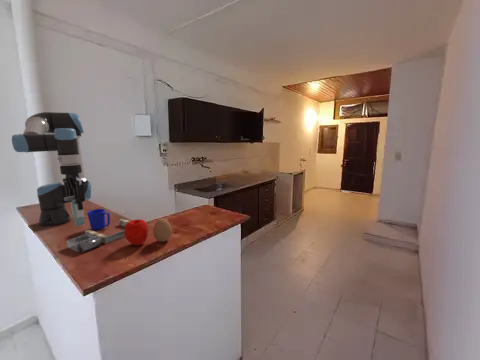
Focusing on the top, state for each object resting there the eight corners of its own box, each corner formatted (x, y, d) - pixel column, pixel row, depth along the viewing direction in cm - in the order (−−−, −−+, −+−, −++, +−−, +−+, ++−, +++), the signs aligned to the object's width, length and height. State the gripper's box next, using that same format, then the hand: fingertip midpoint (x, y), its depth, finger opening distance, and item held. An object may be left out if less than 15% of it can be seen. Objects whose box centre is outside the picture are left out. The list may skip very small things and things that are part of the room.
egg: (163, 246, 104) (161, 222, 102) (150, 243, 108) (148, 220, 106) (176, 239, 112) (174, 216, 110) (163, 236, 115) (161, 214, 113)
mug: (105, 232, 123) (102, 214, 121) (86, 230, 125) (83, 213, 123) (116, 226, 130) (114, 209, 129) (98, 225, 133) (95, 208, 131)
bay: (85, 236, 117) (85, 231, 117) (122, 223, 134) (122, 218, 134) (105, 244, 108) (105, 238, 108) (142, 229, 125) (142, 224, 125)
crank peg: (68, 226, 103) (63, 197, 100) (87, 220, 109) (83, 193, 107) (71, 227, 101) (66, 198, 98) (91, 222, 108) (86, 194, 105)
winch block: (67, 247, 106) (66, 239, 105) (88, 240, 113) (87, 232, 112) (82, 254, 99) (80, 245, 98) (103, 245, 107) (102, 237, 106)
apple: (125, 251, 101) (122, 224, 98) (126, 242, 110) (123, 217, 107) (149, 246, 104) (147, 221, 102) (149, 238, 113) (146, 214, 111)
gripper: (51, 164, 101) (60, 215, 105) (69, 166, 93) (78, 221, 97) (70, 163, 108) (78, 211, 112) (89, 164, 99) (96, 216, 103)
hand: (78, 215), depth 104 cm, fingers closed on crank peg, 3 cm apart
